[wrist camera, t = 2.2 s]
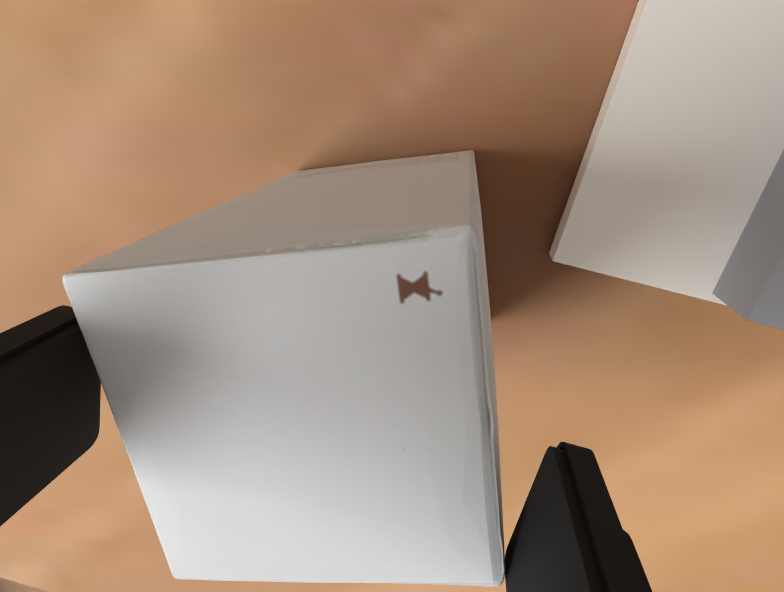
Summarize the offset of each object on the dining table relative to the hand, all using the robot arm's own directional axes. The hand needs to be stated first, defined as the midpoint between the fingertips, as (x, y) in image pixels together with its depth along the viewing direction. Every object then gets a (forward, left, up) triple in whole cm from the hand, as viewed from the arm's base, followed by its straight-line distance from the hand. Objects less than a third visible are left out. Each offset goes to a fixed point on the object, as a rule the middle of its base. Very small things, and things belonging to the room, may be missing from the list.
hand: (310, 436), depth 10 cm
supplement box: (-1, 0, -12) cm, 12 cm away
